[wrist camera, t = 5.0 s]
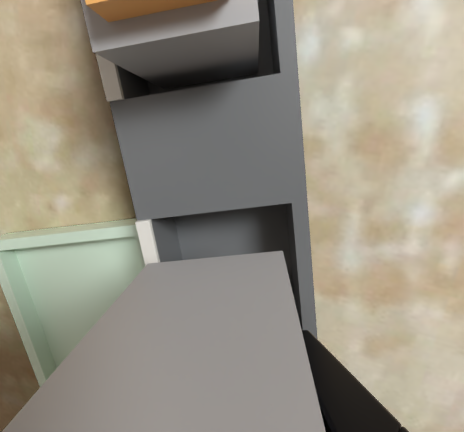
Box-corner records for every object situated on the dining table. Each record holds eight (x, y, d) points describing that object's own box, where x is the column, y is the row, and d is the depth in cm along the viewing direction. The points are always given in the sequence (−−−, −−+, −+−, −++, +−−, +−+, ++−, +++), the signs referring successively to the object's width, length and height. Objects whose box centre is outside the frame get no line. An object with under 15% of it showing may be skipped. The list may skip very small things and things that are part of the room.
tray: (191, 389, 19) (185, 410, 18) (65, 395, 20) (50, 414, 19) (153, 216, 16) (143, 223, 15) (7, 233, 17) (-16, 242, 16)
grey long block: (306, 336, 17) (322, 397, 13) (194, 343, 18) (177, 402, 14) (269, -116, 12) (275, -248, 8) (109, -78, 13) (40, -179, 9)
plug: (282, 250, 9) (367, 610, 2) (294, 367, 10) (374, 849, 3) (147, 263, 9) (-134, 586, 3) (172, 373, 10) (21, 801, 4)
